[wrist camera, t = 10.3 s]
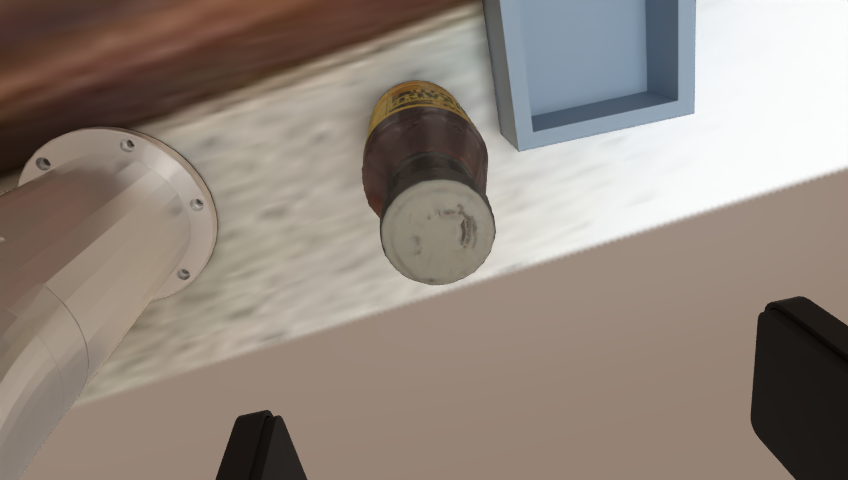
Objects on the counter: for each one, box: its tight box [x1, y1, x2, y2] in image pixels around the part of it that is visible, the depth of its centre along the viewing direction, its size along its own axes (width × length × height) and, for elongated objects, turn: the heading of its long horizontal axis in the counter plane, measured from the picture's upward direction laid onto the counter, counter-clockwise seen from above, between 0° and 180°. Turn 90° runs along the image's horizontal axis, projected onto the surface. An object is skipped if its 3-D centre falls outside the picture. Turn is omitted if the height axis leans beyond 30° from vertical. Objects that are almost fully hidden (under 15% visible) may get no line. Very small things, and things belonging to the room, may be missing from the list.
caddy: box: [482, 0, 696, 152], centre depth 33 cm, size 11×12×5 cm
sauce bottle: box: [362, 81, 496, 285], centre depth 27 cm, size 6×6×20 cm
